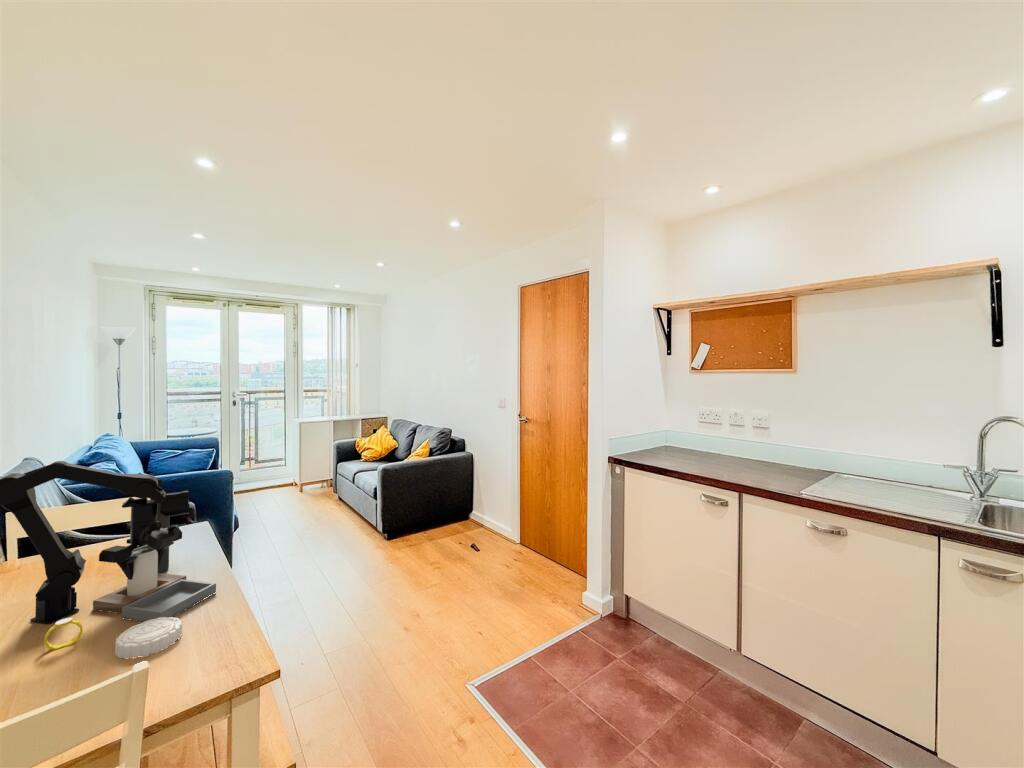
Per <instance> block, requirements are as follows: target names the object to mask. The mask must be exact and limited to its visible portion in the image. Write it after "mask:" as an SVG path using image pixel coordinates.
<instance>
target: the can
mask: <svg viewBox="0 0 1024 768" xmlns="http://www.w3.org/2000/svg"><path fill="white" fill-rule="evenodd" d="M133 556H138V557H137V558H136V559H135V561H134V574H133V578H132V580H129V579H128V578H127V577H126V578H127V580H126V581H127V582H126V586H127V595H128V596H136V597H137V596H139V595H141V594H143V593H145V592H147V591H150V590H152V589H154V588H156V587H157V572H158V552H157V550H155V549H153V548H152V547H150V546H149V547H144V548H141V549H138V550H136V551H133Z"/></svg>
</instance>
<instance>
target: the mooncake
mask: <svg viewBox="0 0 1024 768" xmlns="http://www.w3.org/2000/svg"><path fill="white" fill-rule="evenodd" d="M182 620H183V619H180V618H178V617H176V616H175V617H168V618H166V617H163V618H162V617H159V618H156V619H150V620H148V621H145V622H140V623H138V624H135V625H132V626H131V627H130V628H127V629H126V630H125V631H123V632H122V633H120V634H119V636H118V637H116V639H115V645H114V646H115V647H114V656H116V657H117V658H118V659H123V658H124V660H127V659H126V658H129V657H131V658H133V657H134V658H135V657H138V656H146V657H148V656H150V655H154V654H153V653H155V654H157V653H159V652H161V651H162V650H161V649H164V650H166V649H167V648H166V647H168V646H169V645H171V644H173V643H174V642H175V641H176V640H177V639H178V638H180V639H181V636H180V635H181V634H182V635H183V621H182ZM176 642H177V641H176ZM176 642H175V643H176ZM173 645H174V644H173ZM171 646H172V645H171ZM169 647H170V646H169ZM169 647H168V648H169ZM165 648H166V649H165ZM158 651H159V652H158ZM149 654H150V655H149ZM131 658H130V659H131Z"/></svg>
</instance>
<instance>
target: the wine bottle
mask: <svg viewBox="0 0 1024 768" xmlns="http://www.w3.org/2000/svg"><path fill="white" fill-rule="evenodd" d="M156 479H157V480H158V486H159V487H161V488H162V486H163V478H156ZM162 489H163V488H162ZM149 500H152V499H149ZM160 507H161V503H158V506H157V521H161V524H162V528H163V529H165V528H170V527H171V525H170V522H171V521H170V519H171V516H168V517H165V515H163V514H160ZM147 547H149V546H147ZM169 567H170V546H169V547H168V548H167V549H166V550H165V552H164V554H163V556H162V558H161V561H160V563H159V565H158V572H157V573H164V572H166V571H167V570H169ZM165 570H166V571H165Z"/></svg>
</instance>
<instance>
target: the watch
mask: <svg viewBox="0 0 1024 768" xmlns="http://www.w3.org/2000/svg"><path fill="white" fill-rule="evenodd" d="M70 624H71V625H72V624H73V625H76V626H78V628H79V632H78V634H77V635H76V636H75V638H74V639H73V640H70V641H68V642H65V643H61V644H57V645H55V644H50V642H49V641H48V636H50V635H51V633H52V632H53V631H54V630H55V629H57V628H62V627H65V626H69V625H70ZM83 631H84V630H83V624H82V623H81V622H80V620H77V619H73V617H64V618H62V619H60V620H57V621H55V622H54V625H53V626H51V627H50V628H49V629H48V631H47V632H46V633H45V635H44V641H43V644H44V645H45V646H46V648H47V649H49V650H52V651H56V650H58V649H63V648H65V647H69V646H73V645H74V644H75V643H76V642H77V641H79V639H80V638H81V636H82V634H83Z"/></svg>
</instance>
